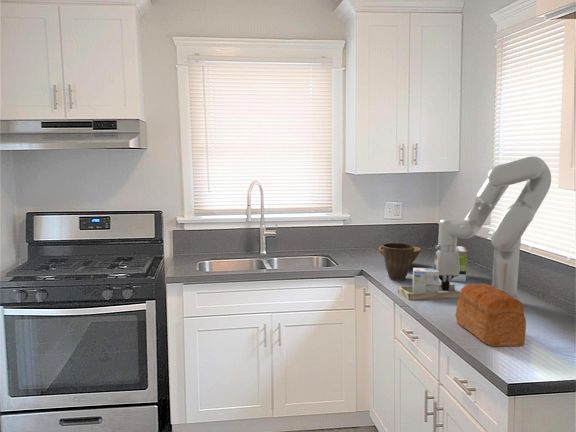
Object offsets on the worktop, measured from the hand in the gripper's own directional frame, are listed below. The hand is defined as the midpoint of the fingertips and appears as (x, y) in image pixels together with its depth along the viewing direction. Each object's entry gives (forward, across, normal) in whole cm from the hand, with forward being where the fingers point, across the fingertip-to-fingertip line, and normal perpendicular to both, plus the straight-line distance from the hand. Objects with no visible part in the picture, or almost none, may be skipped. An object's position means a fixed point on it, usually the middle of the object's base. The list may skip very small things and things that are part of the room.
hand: (445, 290), depth 231 cm
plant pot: (+2, -10, +30) cm, 32 cm away
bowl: (+2, +1, +56) cm, 56 cm away
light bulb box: (+2, -9, 0) cm, 9 cm away
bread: (+2, -7, -49) cm, 49 cm away
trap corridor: (+2, -6, 0) cm, 6 cm away
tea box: (+2, +18, +28) cm, 33 cm away
